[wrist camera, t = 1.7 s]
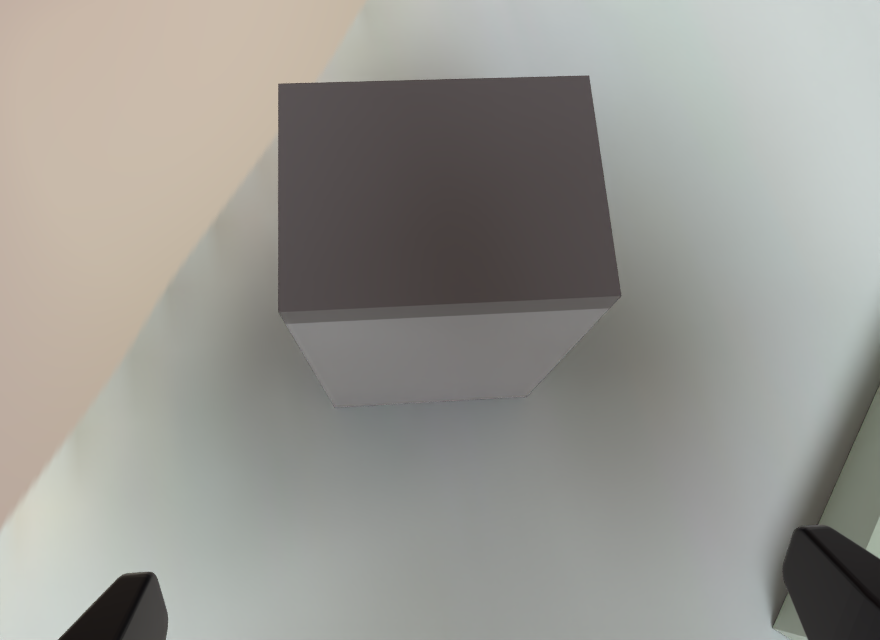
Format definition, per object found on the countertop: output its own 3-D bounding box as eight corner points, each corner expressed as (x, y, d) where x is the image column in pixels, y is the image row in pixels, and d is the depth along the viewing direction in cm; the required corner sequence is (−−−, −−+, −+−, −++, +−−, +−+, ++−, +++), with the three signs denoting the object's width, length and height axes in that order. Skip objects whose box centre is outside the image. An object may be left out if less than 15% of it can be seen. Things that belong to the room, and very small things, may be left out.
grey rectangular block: (526, 396, 24) (621, 296, 14) (334, 407, 24) (278, 312, 13) (510, 234, 26) (582, 32, 15) (330, 241, 25) (278, 39, 15)
